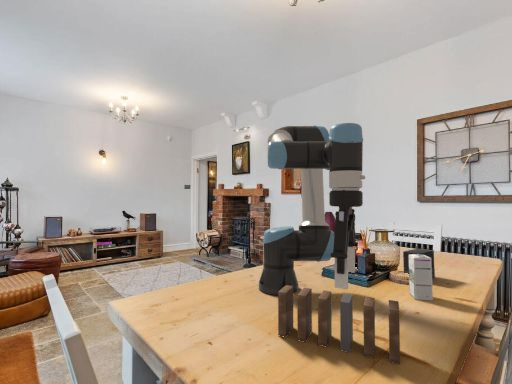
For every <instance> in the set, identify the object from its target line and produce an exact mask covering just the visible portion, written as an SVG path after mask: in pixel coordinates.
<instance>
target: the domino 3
mask: <svg viewBox="0 0 512 384" xmlns="http://www.w3.org/2000/svg"><path fill="white" fill-rule="evenodd" d="M332 319H333V318H332V291H330V290H322V291H321V293H320V295H319V296H318V297H317V346H319V345H323V346H326V347H325V348H328V346H329V343H330V341H331V339H332V330H333V329H332V325H333V323H332ZM330 338H331V339H330ZM327 345H328V346H327ZM323 346H322V347H323Z"/></svg>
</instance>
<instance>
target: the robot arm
mask: <svg viewBox="0 0 512 384" xmlns="http://www.w3.org/2000/svg"><path fill="white" fill-rule="evenodd" d="M363 142H364V137H363V127H362V125H360V124H358V123H355V122H342V123H337V124H334V125H332V126H330V128H329V130H328V129H327V128H326V127H325V126H321V125H320V126H319V125H298V126H297V125H296V126H295V125H287V126H286V125H285V126H283V127H279V128H277V129H275V130H273V131H272V132H271V133H270V134H269V136H268V138H267V167H268V168H269V169H277V170H291V169H293V170H294V169H295V170H297V169H298V170H300V177H301V178H300V179H301V207H302V208H301V209H302V210H301V211H302V212H301V214H302V216H301V217H302V221H301V222H300V224H299V225H298V230H295V228H294V227H293V226H291V225H290V226H287V225H286V226H278V227H273V228H269V229H266V230H264V233H263V241H262V244H263V257H262V258H263V261H262V263H263V266H262V267H263V268H262V271H261V274H260V277H259V281H258V290H259V291H260V292H262V293H265V294H269V295H275V296H278V292H279V291H280V290H281V289H282V288H283V287H285V286H286V285H289V286H293V294H296V293H297V292H299V281H298V278H297V275H296V272H295V269H294V268H295V266H294V265H295V263H294V262H318V263H320V262H328V261H330V260H331V259H332V258H334V288H335V289H336V288H337V289H341V290H342V289H343V290H349V279H348V272H351V273H355V264H356V247H357V248H358V246H359V242H358V241H357V239H356V228H355V226H356V213H355V212H356V211H355V209H354V207H355V208H357V207H358V208H359V207H362V206H363V204H364V203H363V195H364V194H363V192H362V190H360V189H362V188H363V180H366V176H365V175H363V157H364V155H363V151H364V149H363V146H364V145H363V144H364V143H363ZM324 170H327V171H329V172H328V174H329V175H328V180H329V181H328V188H329V189H331V190H330V192H329V194H328V195H329V197H328V198H329V203H328V204H329V206H330V207H338V211H335V214H334V215H335V222H334V223H335V226H334V231H333V230H331V229H330V224H328V222H326V215H325V198H324V197H325V195H324V194H325V193H324V192H325V191H324Z"/></svg>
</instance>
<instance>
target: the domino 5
mask: <svg viewBox="0 0 512 384" xmlns="http://www.w3.org/2000/svg"><path fill="white" fill-rule="evenodd" d="M375 301H376V299H375V297H371V296H365V297H364V302H363V357H366V356H367V358H370V357H372V358H371V359H375V349H376V322H375V321H376V319H375V318H376V315H375V314H376V311H375Z"/></svg>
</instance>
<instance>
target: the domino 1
mask: <svg viewBox="0 0 512 384" xmlns="http://www.w3.org/2000/svg"><path fill="white" fill-rule="evenodd" d="M277 297H278V298H277V305H278V306H277V307H278V308H277V309H278V311H277V312H278V314H277V317H278V321H277V323H278V324H277V327H278V329H277V331H278V333H277V334H278V335H280V336H284V337H286V336H287V335H288V336H289V335H290V333H291V332H292V330H293V329H294V293H293V286H289V285H286V286H285V287H283V288H282V289H281V290H280V291H279V292H278V295H277ZM292 328H293V329H292ZM290 331H291V332H290ZM289 332H290V333H289ZM278 335H277V336H278ZM280 336H279V337H280ZM288 336H287V337H288ZM284 337H283V338H284ZM287 337H286V338H287Z"/></svg>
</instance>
